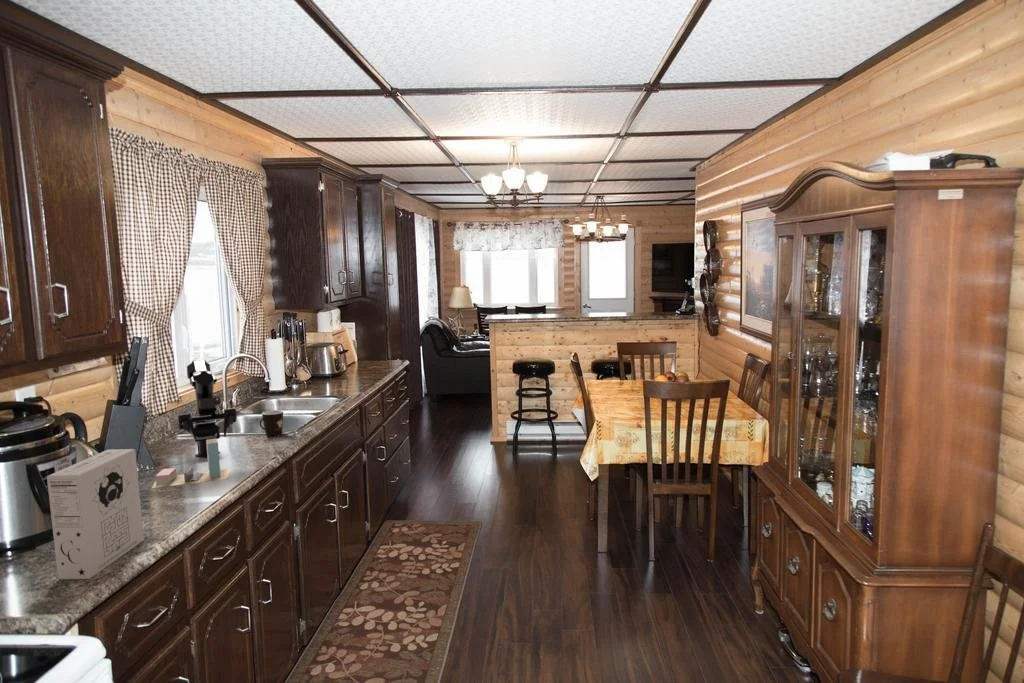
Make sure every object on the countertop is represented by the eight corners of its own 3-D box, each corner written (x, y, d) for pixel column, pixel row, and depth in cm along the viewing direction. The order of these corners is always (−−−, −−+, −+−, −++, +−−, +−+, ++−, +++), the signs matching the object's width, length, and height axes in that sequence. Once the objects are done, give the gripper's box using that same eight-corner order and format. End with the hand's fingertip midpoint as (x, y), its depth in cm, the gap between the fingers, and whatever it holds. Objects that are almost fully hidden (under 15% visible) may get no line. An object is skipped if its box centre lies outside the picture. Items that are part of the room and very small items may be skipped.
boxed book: (208, 473, 224) (206, 439, 223) (219, 472, 226) (216, 438, 224) (210, 478, 219) (207, 443, 217) (220, 477, 220) (217, 442, 219)
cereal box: (116, 540, 173) (107, 449, 170) (144, 540, 173) (135, 448, 170) (57, 580, 151) (45, 475, 148) (89, 579, 151) (78, 475, 148)
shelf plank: (151, 491, 211) (151, 488, 211) (158, 480, 222) (157, 477, 222) (228, 482, 218) (228, 478, 218) (231, 471, 230) (230, 468, 230)
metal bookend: (191, 475, 223) (190, 467, 222) (202, 474, 223) (202, 466, 223) (184, 482, 216) (184, 473, 216) (197, 481, 217) (196, 472, 216)
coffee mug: (279, 431, 285) (277, 409, 284) (288, 434, 279) (286, 412, 278) (253, 437, 277) (251, 414, 276) (261, 440, 271) (260, 417, 270)
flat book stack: (164, 477, 222) (163, 468, 221) (177, 476, 222) (176, 467, 222) (156, 484, 214) (155, 476, 213) (169, 483, 215) (168, 475, 214)
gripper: (175, 391, 225) (179, 429, 217) (234, 385, 234) (240, 421, 225) (177, 410, 233) (180, 447, 224) (233, 403, 242) (239, 439, 233)
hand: (210, 438), depth 227 cm, fingers open, 9 cm apart
